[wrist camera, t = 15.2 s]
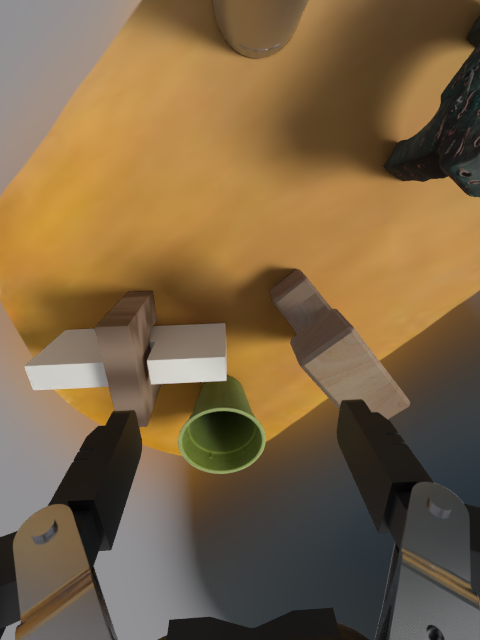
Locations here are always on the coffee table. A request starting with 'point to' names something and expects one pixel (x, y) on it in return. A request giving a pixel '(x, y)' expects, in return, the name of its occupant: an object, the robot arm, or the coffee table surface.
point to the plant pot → (222, 430)
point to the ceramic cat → (448, 133)
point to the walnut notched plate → (129, 353)
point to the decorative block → (334, 349)
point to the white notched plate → (163, 362)
